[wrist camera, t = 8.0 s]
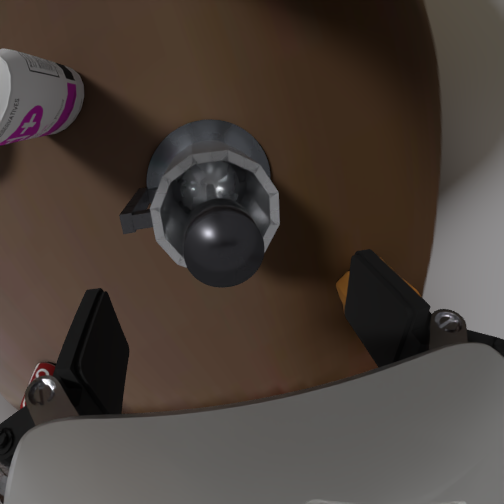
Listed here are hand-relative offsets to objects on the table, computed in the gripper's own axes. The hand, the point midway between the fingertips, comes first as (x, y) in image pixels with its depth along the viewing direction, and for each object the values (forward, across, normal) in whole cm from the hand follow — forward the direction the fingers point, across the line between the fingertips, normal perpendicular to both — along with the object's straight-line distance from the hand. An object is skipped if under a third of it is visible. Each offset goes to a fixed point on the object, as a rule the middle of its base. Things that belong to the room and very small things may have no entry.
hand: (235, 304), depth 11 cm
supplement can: (+25, +17, -12) cm, 33 cm away
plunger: (+21, 0, +1) cm, 21 cm away
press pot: (+25, 0, +1) cm, 25 cm away
